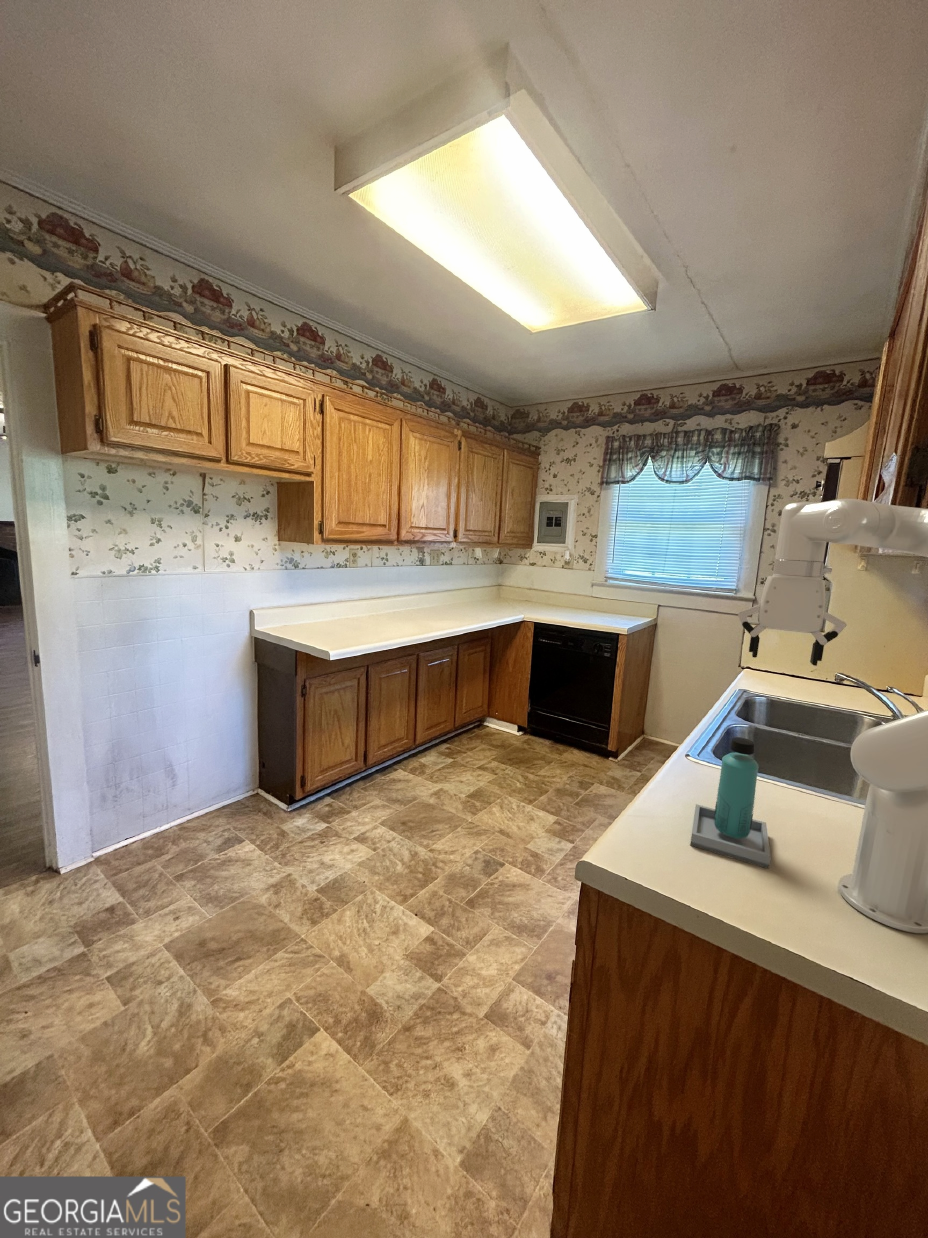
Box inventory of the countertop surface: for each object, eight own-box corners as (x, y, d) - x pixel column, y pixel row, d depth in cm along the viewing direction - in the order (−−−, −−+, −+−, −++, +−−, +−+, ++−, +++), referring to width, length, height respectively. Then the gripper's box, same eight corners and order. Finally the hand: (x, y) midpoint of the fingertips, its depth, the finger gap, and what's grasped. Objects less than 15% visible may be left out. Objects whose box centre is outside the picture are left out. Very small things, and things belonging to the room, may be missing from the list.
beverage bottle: (754, 848, 95) (769, 748, 92) (716, 842, 96) (730, 744, 93) (742, 829, 101) (756, 735, 98) (707, 824, 102) (719, 731, 99)
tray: (764, 834, 101) (766, 822, 101) (768, 869, 90) (770, 856, 90) (694, 815, 107) (695, 804, 107) (690, 845, 96) (691, 833, 96)
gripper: (850, 573, 92) (834, 663, 95) (743, 567, 100) (732, 650, 103) (859, 574, 86) (842, 671, 88) (744, 567, 93) (732, 656, 96)
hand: (783, 660), depth 95 cm, fingers open, 9 cm apart
